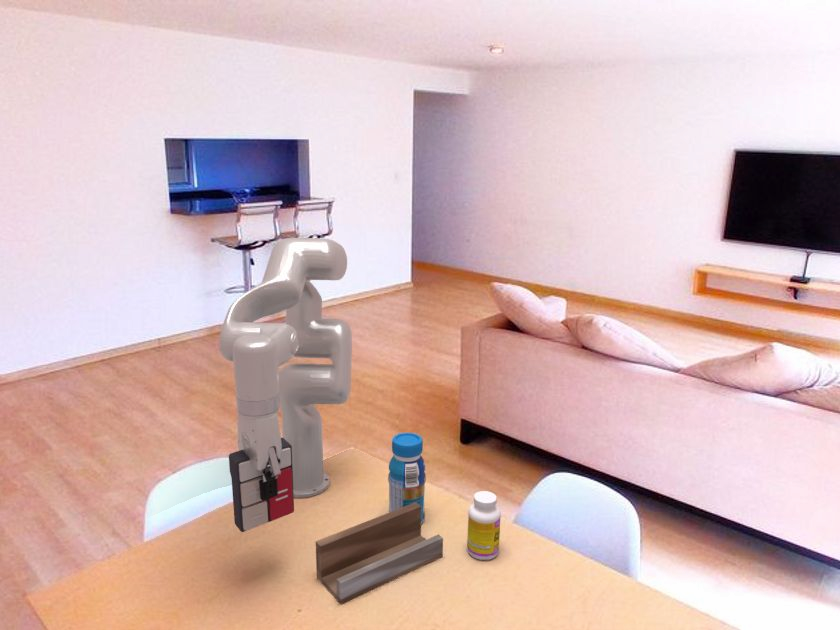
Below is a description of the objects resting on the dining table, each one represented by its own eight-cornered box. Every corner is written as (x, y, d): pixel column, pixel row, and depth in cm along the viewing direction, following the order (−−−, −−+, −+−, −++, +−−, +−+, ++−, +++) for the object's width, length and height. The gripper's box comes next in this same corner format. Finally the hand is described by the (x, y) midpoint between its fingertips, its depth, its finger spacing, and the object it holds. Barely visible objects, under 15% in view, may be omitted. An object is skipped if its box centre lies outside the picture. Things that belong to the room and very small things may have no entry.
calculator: (242, 535, 117) (237, 464, 112) (233, 523, 120) (228, 453, 115) (296, 514, 123) (293, 445, 118) (286, 503, 126) (283, 436, 122)
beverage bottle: (381, 524, 142) (381, 442, 136) (397, 505, 149) (397, 427, 144) (416, 533, 138) (417, 450, 133) (430, 513, 146) (432, 434, 141)
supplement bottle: (497, 563, 129) (500, 507, 126) (464, 559, 130) (466, 503, 127) (499, 544, 135) (502, 490, 132) (469, 540, 136) (471, 486, 133)
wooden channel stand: (316, 577, 124) (315, 541, 122) (415, 534, 138) (415, 502, 136) (341, 604, 117) (340, 566, 115) (442, 556, 131) (443, 522, 129)
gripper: (221, 392, 118) (228, 479, 123) (257, 425, 105) (263, 520, 111) (259, 383, 122) (264, 467, 128) (298, 414, 110) (302, 506, 115)
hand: (264, 491), depth 119 cm, fingers closed on calculator, 3 cm apart
